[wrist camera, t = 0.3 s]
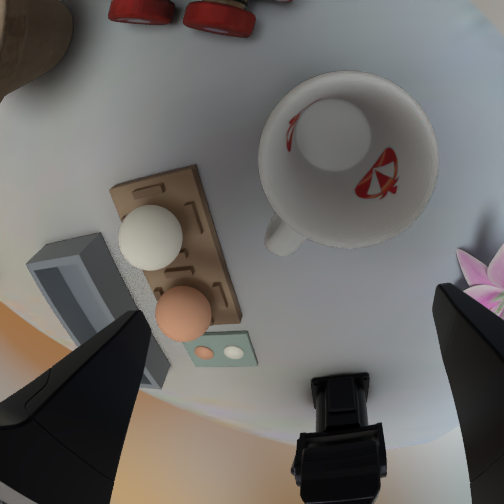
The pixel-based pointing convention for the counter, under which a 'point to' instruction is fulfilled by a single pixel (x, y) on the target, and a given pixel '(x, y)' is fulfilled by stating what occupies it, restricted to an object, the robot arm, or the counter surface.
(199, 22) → the toy fire truck
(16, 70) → the flower pot
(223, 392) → the counter surface
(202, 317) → the ball terracotta
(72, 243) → the trough
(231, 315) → the rack
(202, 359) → the card
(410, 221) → the cup
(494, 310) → the lily
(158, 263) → the ball ivory rack
